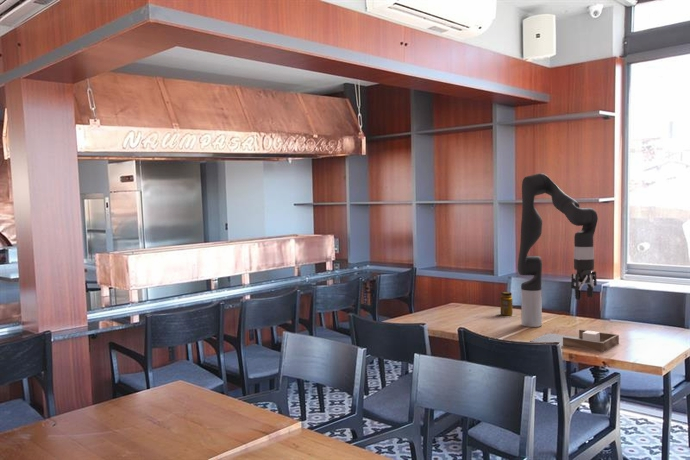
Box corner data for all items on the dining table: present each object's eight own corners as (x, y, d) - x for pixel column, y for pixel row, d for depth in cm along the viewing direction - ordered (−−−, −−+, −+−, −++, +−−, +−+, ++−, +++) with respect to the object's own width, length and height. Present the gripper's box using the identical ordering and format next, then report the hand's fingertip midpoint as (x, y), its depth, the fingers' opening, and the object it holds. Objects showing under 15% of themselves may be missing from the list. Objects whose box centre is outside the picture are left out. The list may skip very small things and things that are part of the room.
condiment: (515, 315, 306) (515, 292, 305) (507, 317, 300) (507, 294, 299) (503, 313, 311) (503, 291, 310) (494, 316, 305) (494, 293, 304)
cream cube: (587, 342, 241) (587, 330, 241) (599, 344, 238) (599, 332, 238) (582, 344, 238) (582, 332, 238) (595, 346, 234) (595, 334, 234)
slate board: (548, 335, 260) (548, 333, 259) (619, 345, 239) (619, 343, 239) (529, 343, 246) (529, 340, 246) (603, 354, 226) (603, 352, 226)
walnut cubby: (579, 337, 250) (579, 329, 250) (618, 343, 239) (618, 334, 239) (562, 345, 237) (562, 337, 237) (603, 352, 226) (603, 343, 226)
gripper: (585, 256, 242) (585, 295, 242) (565, 258, 233) (565, 299, 234) (602, 257, 236) (602, 297, 236) (582, 259, 227) (582, 301, 228)
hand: (584, 298), depth 235 cm, fingers open, 8 cm apart
